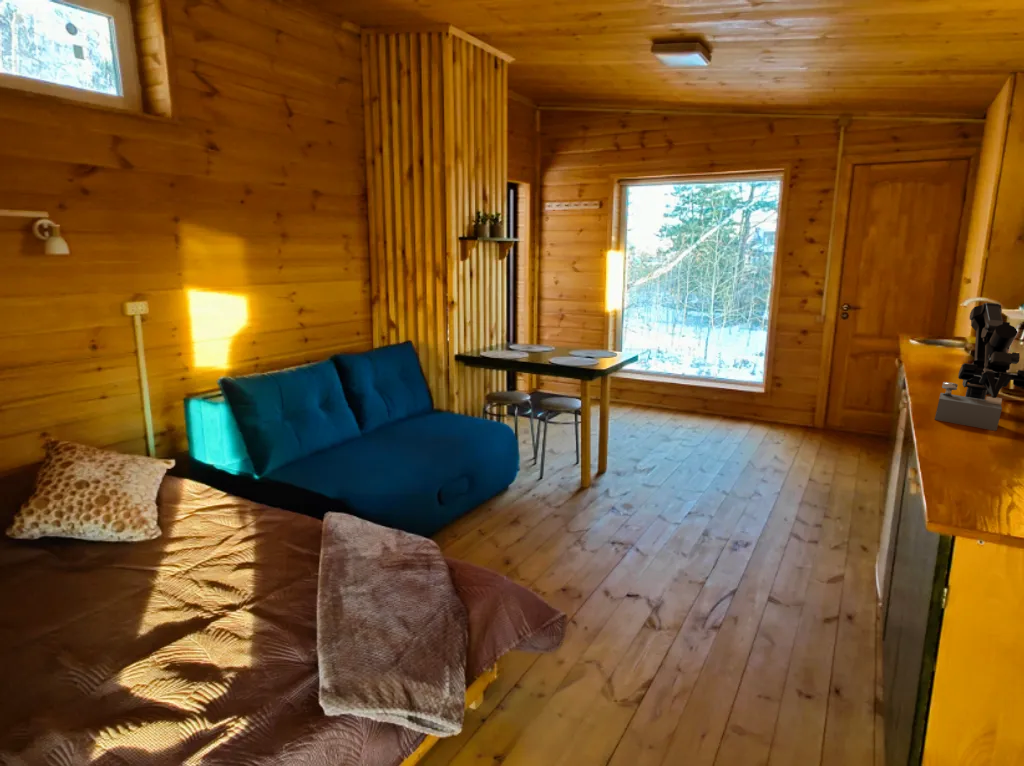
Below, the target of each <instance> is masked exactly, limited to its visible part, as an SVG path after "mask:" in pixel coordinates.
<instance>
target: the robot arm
mask: <svg viewBox="0 0 1024 766" xmlns="http://www.w3.org/2000/svg"><path fill="white" fill-rule="evenodd" d="M1002 311H1003V310H1002V305H1001V304H1000V303H995V302H993V303H992V302H984V303H982V304H981V305H978V306H974V307H972V309H971V311H970V314H969V321H970V326H971V328H972V329H973V330H974V331H975V343H974V345H975V346H974V347H975V348H974V361H973V362H972V363H965V362H963V364H962V365H961V367H960V369H959V370H958V377H957V378H958V379H959V380H961V381H962V386H963V387H964V388H966V391H965V395H964V397H970V398H977V399H983V400H986V397H987V394H986V393H987V390H988V391H989V393H990V394H991V395H990V394H989V395H990V396H992V397H993V398H996V397H998V395H999V392H1000V390H1001V389H1003V388H1005V387H1008V385H1009V383H1010V382H1011V381H1012V385H1014V386H1015V387H1017V388H1022V389H1023V388H1024V370H1023V369H1018V370H1017V372H1015V373H1014V372H1008V371H1009V370H1010V369H1011V368H1010V366H1011V365H1012V364H1014V365H1017V364H1019V362H1020V356H1021V355H1020V354H1021V353H1020V352H1014V351H1013V352H1012V353H1010V352H1009V353H1007V348H1009V347H1011V346H1012V343H1013V342H1014V340H1015V339H1016V337H1017V334H1018V330H1017V328H1016V327H1014V326H1013V325H1011V322H1010V321H1004V320H1003V316H1002ZM1009 349H1010V348H1009Z"/></svg>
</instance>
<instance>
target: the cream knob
mask: <svg viewBox="0 0 1024 766" xmlns="http://www.w3.org/2000/svg"><path fill="white" fill-rule="evenodd" d="M985 400H986V401H985V402H987V403H991V404H997V405H1000V404H1001V405H1002V401H1003V397H998V396H997V397H996V398H993V397H992V396H991V395H986V397H985Z"/></svg>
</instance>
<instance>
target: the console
mask: <svg viewBox="0 0 1024 766" xmlns="http://www.w3.org/2000/svg"><path fill="white" fill-rule="evenodd" d="M985 401H986V399H985V400H983V399H977V398H970V397H965V395H964V396H962V395H958V394H952V393H951V396H945V393H944V392H940V394H939V397H938V403H937V407H936V411H935V416H934V420H935V421H940V422H945V423H951V424H956V425H962V426H968V427H972V428H973V427H974V428H979V429H984V430H988V431H995V432H996V431H997V430H998V425H999V422H1000V418H1001V414H1002V410H1003V408H1002V403H1001V404H1000V405H997V404H991V403H987V402H985Z"/></svg>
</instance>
